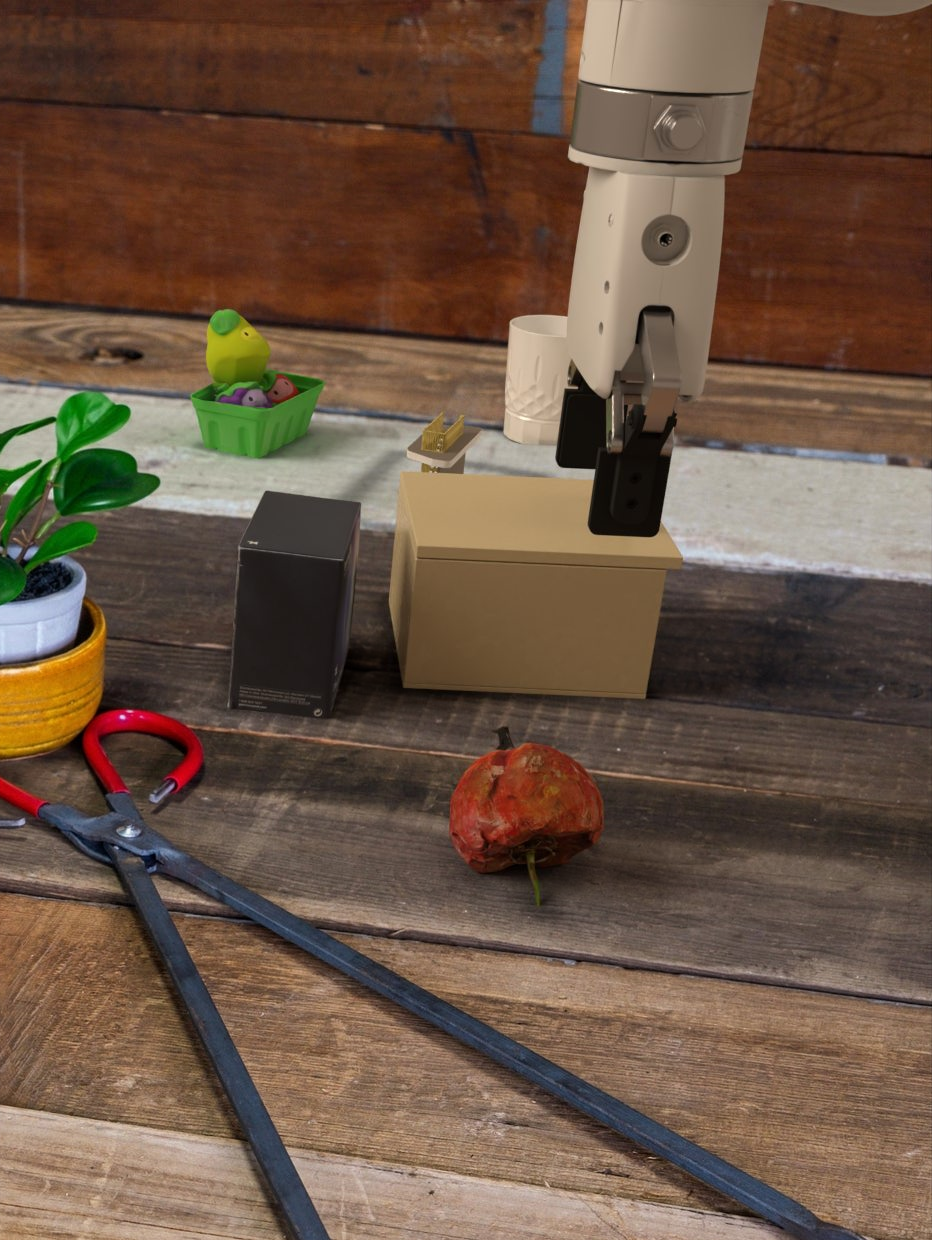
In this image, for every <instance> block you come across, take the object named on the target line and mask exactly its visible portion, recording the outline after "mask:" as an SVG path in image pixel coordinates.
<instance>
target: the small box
mask: <svg viewBox="0 0 932 1240" xmlns="http://www.w3.org/2000/svg"><path fill="white" fill-rule="evenodd" d="M361 512H362V503H361V502H360V501H354V500H353V501H352V500H347V499H346V500H345V499H336V498H335V499H334V498H327V497H319V496H313V495H303V494H296V493H291V492H290V493H289V492H282V491H273V490H265V491H264V492H263V494H262V495H261V498H260V500H259V501H258V504H257V506H256V508H255V510H254V513H253V514H252V516H251V519H250V521H249V523H248V525H247V527H246V529H245V531H244V533H243V535H242V537H241V539H240V542H239V543H238V545H237V552H236V565H235V579H234V580H235V581H234V583H235V584H234V599H233V616H232V639H231V650H230V651H231V654H230V665H229V675H228V676H229V678H228V686H227V699H226V707H227V708H228V709H229V710H241V711H254V712H259V713H268V714H279V715H288V716H296V717H305V718H313V719H324V720H326V719H329V718H330V716H331V715H332V712H333V708H334V705H335V701H336V698H337V694H338V690H339V688H340V683H341V679H342V676H343V673H344V669H345V665H346V662H347V659H348V653H349V648H350V641H351V635H352V634H351V633H352V626H353V615H354V606H355V605H354V603H355V596H356V585H357V573H358V563H359V562H358V561H359V551H360V550H359V549H360V535H361V518H362V517H361V516H362V513H361Z"/></svg>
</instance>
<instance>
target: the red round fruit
mask: <svg viewBox="0 0 932 1240" xmlns="http://www.w3.org/2000/svg"><path fill="white" fill-rule="evenodd" d="M490 731H491V732H492V733H494V734H497V737H498V743H499V744H498V746H497V747H496V749H495V750H492V751H490V752H488V753H487V754H485V755H482V756H480V757H479V758H477V759H476V760H475V761H473V762H472V763H471V764H470V765H469V766H468V767H467V769H466V770H465V772H464V773H463V774H462V775H461V777H460V778H459V781H458V783H457V785H456V787H455V790H454V791H453V793H452V794H451V797H450V801H449V805H450V806H449V824H448V834H449V839H450V841H451V842H452V845H453V847H454V849H455V851H456V852H457V853H458V855H459V856H460V857H461V858H462V860H463V861H464V862H465V863H466V864H467V865H468V866H469V868H471V869H472V870H473V871H475V872H477V873H479V874H487V873H495V872H500V871H503V870H504V869H507V868H508V867H510V866H513V865H517V864H518V865H527V871H528V876H529V880H530V882H531V885H532V888H533V893H534V898H535V903H536V905H537V908H540V907H541V898H540V897H541V895H540V891H541V884H540V881H539V879H538V877H537V874H536V867H538V868H539V867H540V868H547V867H548V868H549V867H554V866H562V865H564V864H566V863H567V862H569V861H570V860H571V859H572V858H573V857H574V856H576V855H578V854H580V853H583V852H584V851H585V850H588V849H590V848H592V847H593V846H595V844H596V843H597V842H598V840H599V838H600V836H601V834H602V832H603V830H604V825H605V823H604V819H605V818H604V817H605V816H604V815H605V812H604V800H603V797H602V795H601V792H600V790H599V789H598V786H597V785H596V783H595V781H594V780H593V778H592V777H591V776H590V774H589V773H588V771H587V770H586V769H585V767H583V766H582V765H581V763H579V762H578V761H577V760H576V759H574V758H572V756H571V755H568V754H566V753H564V752H562V751H559V750H558V749H556V748H554V747H552V746H549V745H545V744H541V743H535V742H524V743H523V744H522V745H520V746H518V747H516V748H515V745H514V743H513V740H512V738H511V735H510V729H509V726H507V725H502V726H500V727H499V728H497V729H491V730H490Z"/></svg>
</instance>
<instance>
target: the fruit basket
mask: <svg viewBox="0 0 932 1240" xmlns="http://www.w3.org/2000/svg"><path fill="white" fill-rule="evenodd" d="M206 340H207V346H206V350H205V363H206V367H207V371H208V373H209V375H210V376H211V378H212V379H213V382H212V383H210V384H208V385H206V386H205V387H203V388H200V389H199V390H196V391H195V392H192V393H191V394H190V395H189V397H190V401H191V403H192V407H193V408H194V409H195V413H196V417H197V418H196V419H197V421H198V422H197V423H198V425H199V430H200V434H201V438H202V441H203V445H204V448H205V449H209V450H217V451H220V452H224V453H229V454H232V455H233V454H234V455H238V456H246V457H249V458H253V459H261V458H263V457H265V456H267V455H268V454H269V453H272V452H274V451H276V450H278V449H280V448H281V447H282V446H283V445H284V446H285V445H287V444H290V443H291V442H294V441H295V439H297V438H300V437H302V436H304V435H307V432H308V429H309V426H310V423H311V420H312V417H313V415H314V411H315V408H316V405H317V403H318V399H319V396H320V395H322V392H323V389H324V387H325V384H326V382H325V380H323V379H321V378H318V377H311V376H307V375H301V374H297V373H296V374H295V373H289V372H286V371H285V372H284V371H279V370H277V369H268V368H267V365H268V362H269V360H270V357H271V355H272V349H271V347H270V344H269V342H268V340H266V338H265V337H264V336H263V335H262V334H261V333H260V332H259V331H258V330H257V329H255V327H254V326H253V325H251V324H250V323H249V322H248V321H247V320H246V319H245V318H244V317H243V316H242V315H240V314H239V312H237V311H236V310H233V309H231V308H227V309H226V308H225V309H219V310H217V311H215V312H214V313H213V315H212V316H211V317H210V319H209V324H208V325H207V329H206Z"/></svg>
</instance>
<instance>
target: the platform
mask: <svg viewBox="0 0 932 1240" xmlns="http://www.w3.org/2000/svg"><path fill="white" fill-rule="evenodd" d="M465 416H466V414H460V416H459V418H458V420H456V422H454V423H453V424H452V425H444V417H445V411H442V412H441V413H440V414H439V415H438V416H437V417H435V418H434V419H433V420H432V421H431V422H430V423H428V425H427V426H426V427H425V428H424V429H422V434H421V435H419V436H418V437H417V438H416V439H415V440H414V441H413V442H412V443H411V444H410V445H409V446H408V447H407V448H406V457H407V458H408V459H410V460H414V461H415V462H416V461H417V462H419V463H421V466H420V467H421V469H420V472H428V473H430V472H431V473H450V474H465V463H466V456H467V455H466V454H467V452H468V451H469V450H470V448H471V447H472V446H473V445H475V444H476V442H477V441H478V440H479V439H480V438H481V437H482V436H483V428H482V427H480V426H474V425H468V424H464V423H465Z"/></svg>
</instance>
